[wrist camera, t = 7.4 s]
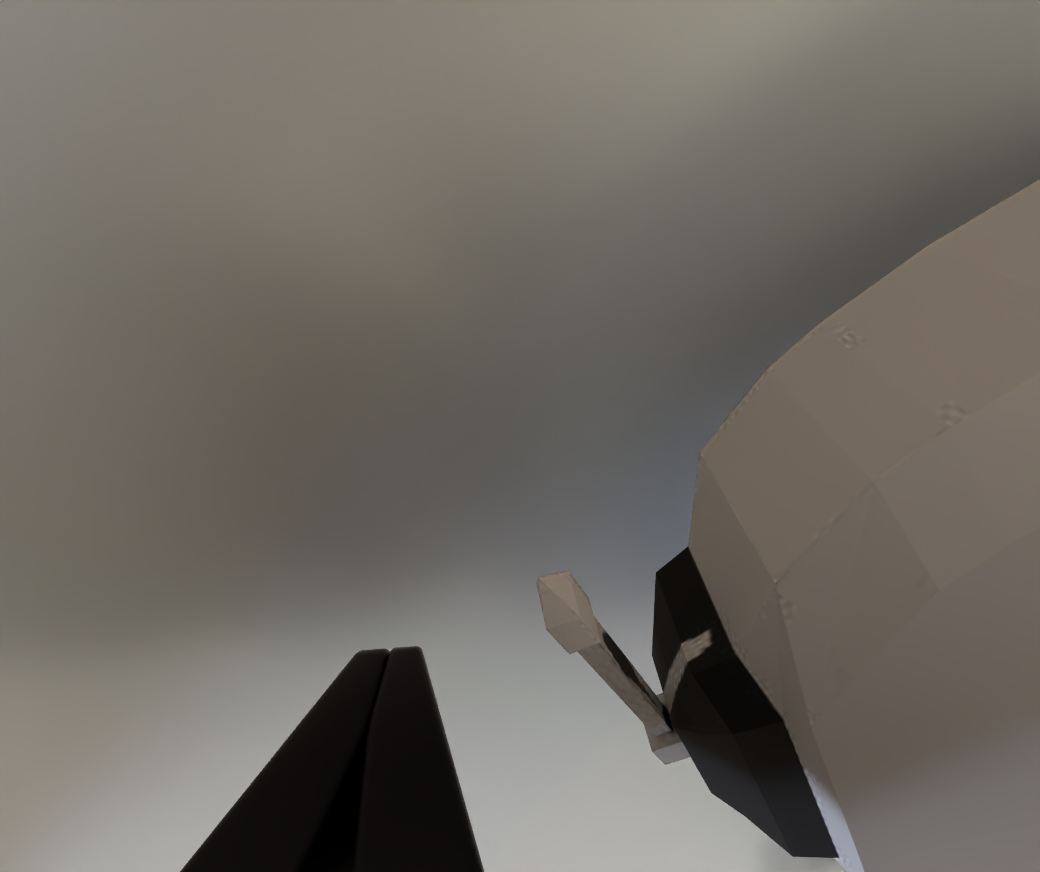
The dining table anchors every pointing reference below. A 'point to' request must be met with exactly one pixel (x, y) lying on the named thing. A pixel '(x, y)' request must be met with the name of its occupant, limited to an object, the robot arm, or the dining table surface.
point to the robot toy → (867, 576)
